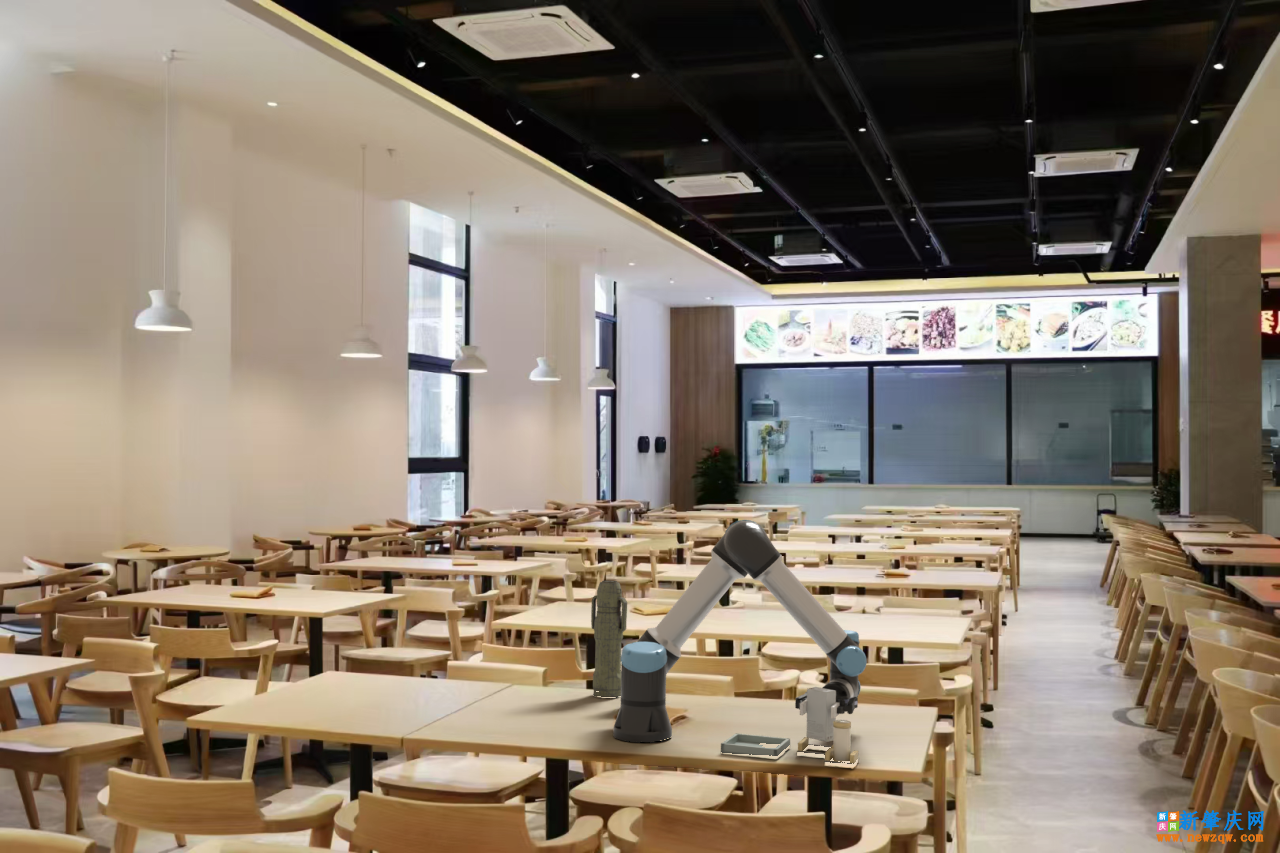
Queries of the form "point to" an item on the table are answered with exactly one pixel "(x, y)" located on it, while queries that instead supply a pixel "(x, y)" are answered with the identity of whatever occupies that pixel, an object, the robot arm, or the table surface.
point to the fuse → (841, 740)
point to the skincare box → (820, 713)
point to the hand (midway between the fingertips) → (816, 711)
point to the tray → (753, 745)
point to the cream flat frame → (828, 753)
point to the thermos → (608, 638)
